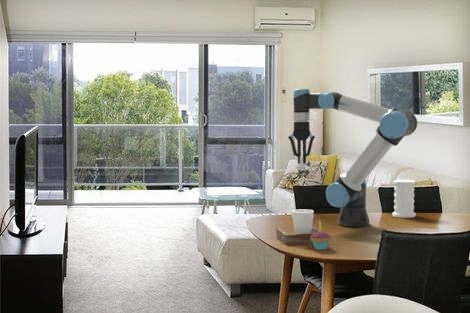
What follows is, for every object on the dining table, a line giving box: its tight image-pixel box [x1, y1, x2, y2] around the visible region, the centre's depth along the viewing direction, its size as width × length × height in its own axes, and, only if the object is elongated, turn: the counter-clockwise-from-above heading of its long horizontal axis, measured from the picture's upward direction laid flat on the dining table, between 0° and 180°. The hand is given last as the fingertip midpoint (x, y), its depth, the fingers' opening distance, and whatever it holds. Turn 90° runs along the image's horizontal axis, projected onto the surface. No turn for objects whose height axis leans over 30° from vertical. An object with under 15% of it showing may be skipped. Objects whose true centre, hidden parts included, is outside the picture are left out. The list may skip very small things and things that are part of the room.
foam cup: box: [291, 208, 315, 234], centre depth 321 cm, size 10×9×13 cm
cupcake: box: [310, 220, 332, 251], centre depth 305 cm, size 9×8×12 cm
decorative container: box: [392, 179, 417, 219], centre depth 379 cm, size 12×12×18 cm
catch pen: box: [276, 226, 319, 245], centre depth 323 cm, size 16×17×4 cm
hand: (301, 170), depth 356 cm, fingers closed
